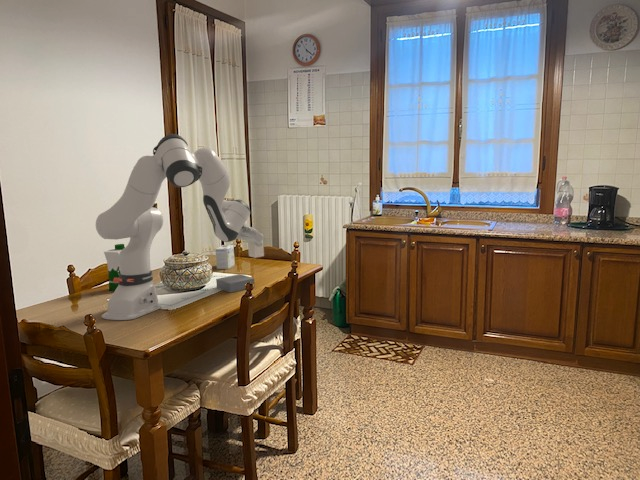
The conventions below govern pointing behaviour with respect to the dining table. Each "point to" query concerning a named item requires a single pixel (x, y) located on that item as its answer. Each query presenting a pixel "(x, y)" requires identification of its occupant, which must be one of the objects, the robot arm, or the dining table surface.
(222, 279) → the block
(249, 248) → the cream block
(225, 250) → the light bulb box
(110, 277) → the milk carton
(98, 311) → the dining table surface
